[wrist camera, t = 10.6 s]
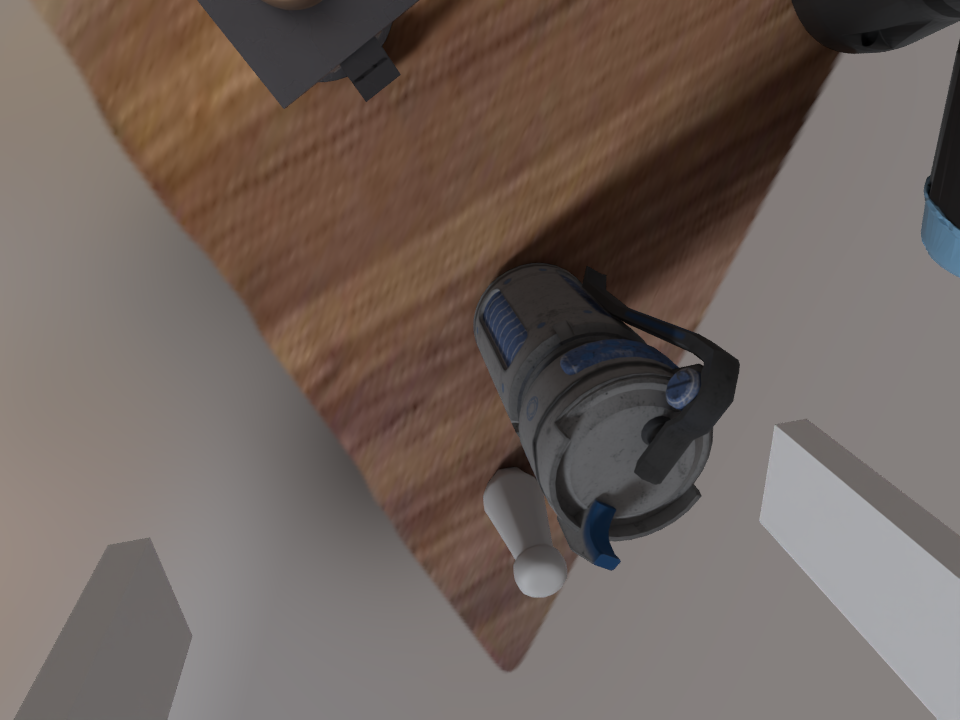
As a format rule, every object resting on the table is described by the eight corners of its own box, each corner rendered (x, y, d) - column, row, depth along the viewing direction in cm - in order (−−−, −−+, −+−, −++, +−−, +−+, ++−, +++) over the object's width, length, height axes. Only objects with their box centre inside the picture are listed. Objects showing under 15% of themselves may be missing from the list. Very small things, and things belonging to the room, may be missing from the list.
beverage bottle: (622, 267, 51) (826, 414, 29) (541, 391, 55) (664, 605, 32) (525, 210, 47) (672, 327, 25) (445, 347, 51) (511, 554, 29)
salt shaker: (488, 515, 60) (518, 619, 48) (471, 472, 57) (499, 571, 46) (542, 495, 60) (586, 594, 48) (528, 451, 57) (571, 545, 46)
